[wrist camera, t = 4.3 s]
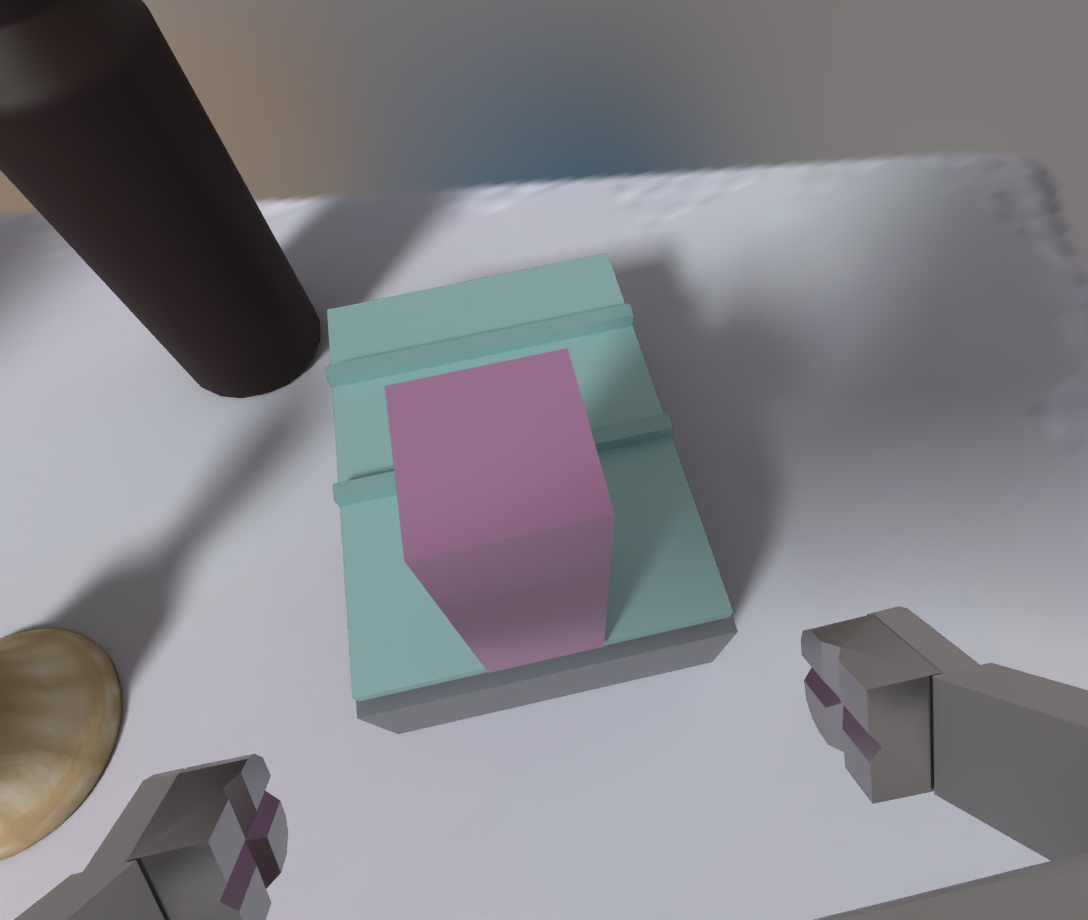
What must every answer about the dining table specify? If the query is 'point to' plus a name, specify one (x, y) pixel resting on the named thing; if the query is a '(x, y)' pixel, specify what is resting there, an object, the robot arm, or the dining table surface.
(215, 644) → the dining table surface
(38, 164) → the bottle
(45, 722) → the hand bell
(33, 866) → the dining table surface
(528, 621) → the lid
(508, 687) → the tray
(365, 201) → the dining table surface
